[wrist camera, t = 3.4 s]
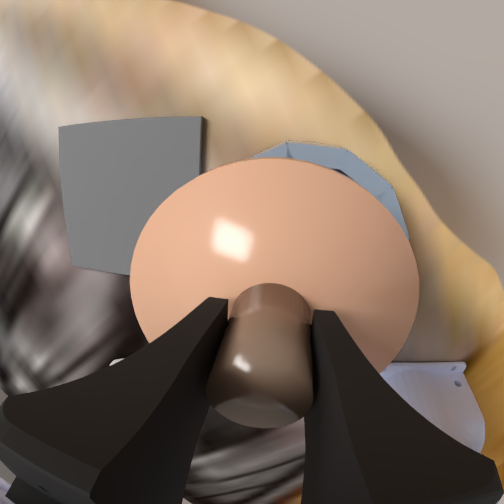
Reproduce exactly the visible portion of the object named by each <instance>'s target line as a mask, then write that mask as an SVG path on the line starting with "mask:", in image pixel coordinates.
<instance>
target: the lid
mask: <svg viewBox="0 0 504 504" xmlns="http://www.w3.org/2000/svg"><path fill="white" fill-rule="evenodd" d="M130 288H131V298H132V302H133V306H134V311H135V314H136V317H137V319H138V322H139V324H140V327H141V329H142V331H143V333H144V334H145V336H146V338H147V340H148V341H149V343H151V342H152V341H154V340H155V339H157V338H158V337H159V336H161V335H162V334H164V333H165V332H166V331H168V330H169V329H170V328H171V327H173V326H174V325H175V324H177V323H178V322H179V321H180V320H182V319H183V318H184V317H185V316H186V315H188V314H189V313H190V312H191V311H192V310H194V309H195V308H196V307H197V306H198V305H199V304H201V303H202V302H203V301H204V300H205V299H207V298H208V297H215V298H223V299H228V322H227V325H226V328H225V331H224V334H223V337H222V340H221V343H220V346H219V349H218V352H217V355H216V358H215V361H214V364H213V367H212V370H211V373H210V376H209V379H208V382H207V386H206V395H207V398H208V400H209V402H210V404H211V405H212V407H213V408H214V409H215V410H216V411H217V412H218V413H220V414H221V415H222V416H224V417H225V418H227V419H229V420H231V421H233V422H236V423H238V424H241V425H245V426H249V427H255V428H276V427H282V426H286V425H289V424H292V423H294V422H296V421H298V420H299V419H301V418H302V417H304V416H305V415H306V414H307V413H308V411H309V410H310V408H311V406H312V403H313V369H312V335H311V324H312V319H313V314H314V309H318V310H329V311H334V312H335V313H336V314H337V316H338V317H339V319H340V320H341V322H342V323H343V325H344V327H345V328H346V330H347V331H348V333H349V334H350V336H351V337H352V338H353V340H354V341H355V343H356V344H357V346H358V347H359V348H360V350H361V351H362V352H363V354H364V355H365V357H366V358H367V359H368V361H369V362H370V363H371V364H372V366H373V367H374V368H375V369H376V370H377V372H378V373H379V374H380V373H381V372H382V371H383V370H384V369H385V368H386V367H387V366H388V365H389V364H390V363H391V362H392V361H393V359H394V358H395V357H396V356H397V354H398V353H399V351H400V350H401V348H402V347H403V345H404V344H405V342H406V340H407V338H408V336H409V334H410V332H411V330H412V327H413V324H414V321H415V317H416V314H417V309H418V302H419V275H418V269H417V263H416V260H415V257H414V254H413V251H412V248H411V245H410V243H409V241H408V239H407V237H406V235H405V233H404V231H403V230H402V228H401V226H400V225H399V224H398V222H397V221H396V220H395V218H394V217H393V216H392V214H391V213H390V212H389V211H388V210H387V209H386V207H385V206H384V205H383V204H382V203H381V202H380V201H379V200H378V199H376V198H375V197H374V196H373V195H372V194H371V193H370V192H369V191H368V190H367V189H365V188H364V187H363V186H361V185H360V184H358V183H357V182H355V181H354V180H352V179H351V178H349V177H347V176H345V175H343V174H341V173H339V172H337V171H335V170H333V169H331V168H328V167H325V166H322V165H319V164H316V163H313V162H310V161H304V160H299V159H293V158H285V157H260V158H252V159H244V160H239V161H236V162H232V163H228V164H225V165H221V166H219V167H217V168H214V169H212V170H210V171H207V172H205V173H203V174H201V175H200V176H198V177H196V178H195V179H193V180H192V181H190V182H188V183H187V184H185V185H184V186H182V187H181V188H179V189H177V190H176V191H175V192H174V193H173V194H172V195H170V196H169V197H168V198H167V199H166V200H165V201H164V202H163V203H162V204H161V205H160V206H159V207H158V208H157V210H156V211H155V212H154V213H153V214H152V216H151V217H150V218H149V220H148V222H147V223H146V225H145V227H144V228H143V230H142V232H141V234H140V236H139V239H138V241H137V244H136V246H135V249H134V253H133V258H132V263H131V272H130Z"/></svg>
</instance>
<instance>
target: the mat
mask: <svg viewBox="0 0 504 504" xmlns="http://www.w3.org/2000/svg"><path fill="white" fill-rule="evenodd" d="M202 126H203V117H157V118H138V119H124V120H112V121H102V122H92V123H84V124H76V125H69V126H62V127H59V159H60V176H61V188H62V198H63V208H64V216H65V224H66V231H67V237H68V244H69V250H70V255H71V261H72V266H76V267H82V268H88V269H94V270H100V271H106V272H112V273H118V274H125V275H130V272H131V263H132V258H133V253H134V249H135V246H136V244H137V241H138V239H139V236H140V234H141V232H142V230H143V228H144V227H145V225H146V223H147V222H148V220H149V218H150V217H151V216H152V214H153V213H154V212H155V211H156V210H157V208H158V207H159V206H160V205H161V204H162V203H163V202H164V201H165V200H166V199H167V198H168V197H169V196H170V195H172V194H173V193H174V192H175V191H176V190H177V189H179V188H181V187H182V186H184V185H185V184H187V183H188V182H190V181H192V180H193V179H195V178H196V177H198V176H200V175H201V155H202Z"/></svg>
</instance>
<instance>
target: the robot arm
mask: <svg viewBox="0 0 504 504" xmlns="http://www.w3.org/2000/svg"><path fill="white" fill-rule="evenodd" d="M227 322H228V299H223V298H215V297H208V298H207V299H205V300H204V301H203V302H202V303H201V304H199V305H198V306H197V307H196V308H195V309H194V310H192V311H191V312H190V313H189V314H188V315H186V316H185V317H184V318H183V319H182V320H180V321H179V322H178V323H177V324H175V325H174V326H173V327H171V328H170V329H169V330H168V331H166V332H165V333H164V334H162V335H161V336H159V337H158V338H157V339H155V340H154V341H152V342H151V343H149V344H148V345H146V346H145V347H143V348H142V349H140V350H139V351H137V352H135V353H134V354H132V355H130V356H128V357H126V358H124V359H123V360H121V361H119V362H117V363H115V364H113V365H111V366H108V367H106V368H104V369H102V370H99V371H97V372H95V373H92V374H90V375H88V376H85V377H83V378H80V379H77V380H74V381H71V382H69V383H65V384H62V385H59V386H55V387H52V388H48V389H44V390H40V391H35V392H30V393H25V394H20V395H14V396H8V397H7V398H6V399H5V401H4V402H3V403H2V405H1V406H0V460H1V461H2V462H3V463H4V464H5V465H6V466H7V467H8V468H9V469H10V470H11V471H12V472H13V473H14V474H15V475H16V478H15V480H14V482H13V483H12V485H10V484H9V483H7V482H6V481H5V480H3V479H2V478H1V477H0V504H182V499H183V495H184V491H185V486H186V482H187V478H188V474H189V470H190V465H191V462H192V458H193V454H194V450H195V446H196V442H197V439H198V436H199V433H200V430H201V427H202V425H203V422H204V419H205V417H206V414H207V412H208V409H209V406H210V402H209V400H208V398H207V395H206V386H207V382H208V379H209V376H210V373H211V370H212V367H213V364H214V361H215V358H216V355H217V352H218V349H219V346H220V343H221V340H222V337H223V334H224V331H225V328H226V325H227ZM311 335H312V369H313V403H312V406H311V408H310V410H309V411H308V413H307V414H306V415H305V416H304V422H305V442H306V455H305V469H304V480H303V490H302V499H301V504H498V503H497V502H498V501H499V500H500V499H501V497H502V495H503V492H504V491H503V487H502V484H501V481H500V477H499V474H498V471H497V468H496V465H495V463H494V461H493V460H491V459H489V458H488V457H486V456H484V455H483V454H480V452H481V450H482V448H483V445H484V441H485V422H484V418H483V415H482V413H481V410H480V408H479V406H478V404H477V401H476V399H475V397H474V395H473V393H472V390H471V388H470V386H469V384H468V382H467V380H466V378H465V376H464V374H463V372H464V370H465V368H466V363H465V362H436V363H390V364H389V365H388V366H387V367H386V368H385V369H384V370H383V371H382V372H381V373H380V374H379V373H378V372H377V370H376V369H375V368H374V367H373V366H372V364H371V363H370V362H369V361H368V359H367V358H366V357H365V355H364V354H363V352H362V351H361V350H360V348H359V347H358V346H357V344H356V343H355V341H354V340H353V338H352V337H351V336H350V334H349V333H348V331H347V330H346V328H345V327H344V325H343V323H342V322H341V320H340V319H339V317H338V316H337V314H336V313H335V312H334V311H329V310H318V309H314V314H313V319H312V324H311Z"/></svg>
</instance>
